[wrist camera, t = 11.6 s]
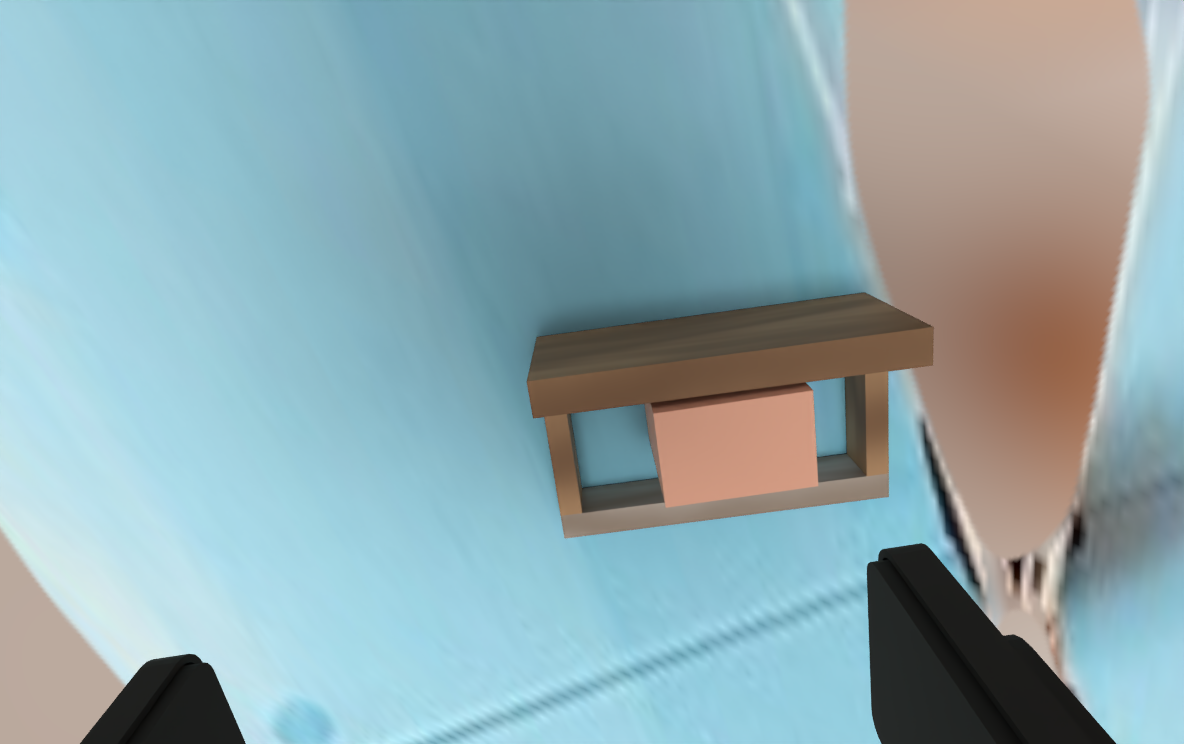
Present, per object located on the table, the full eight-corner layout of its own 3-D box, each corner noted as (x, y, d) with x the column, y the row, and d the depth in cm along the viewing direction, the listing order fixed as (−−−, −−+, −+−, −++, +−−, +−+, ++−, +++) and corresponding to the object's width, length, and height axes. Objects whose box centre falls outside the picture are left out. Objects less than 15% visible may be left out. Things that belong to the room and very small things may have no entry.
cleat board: (536, 337, 32) (526, 381, 26) (864, 292, 32) (933, 326, 26) (565, 512, 35) (562, 589, 29) (867, 472, 35) (930, 543, 29)
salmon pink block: (638, 360, 33) (653, 413, 26) (765, 341, 33) (813, 390, 26) (650, 452, 34) (668, 525, 28) (772, 434, 34) (819, 504, 27)
